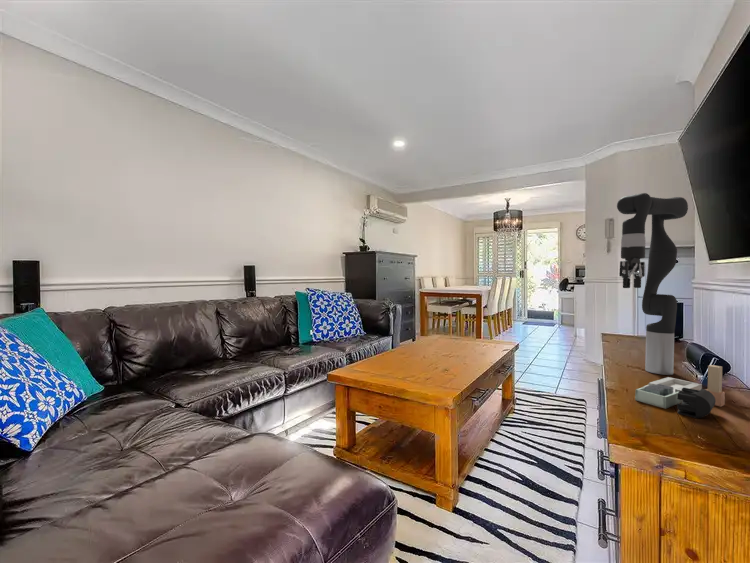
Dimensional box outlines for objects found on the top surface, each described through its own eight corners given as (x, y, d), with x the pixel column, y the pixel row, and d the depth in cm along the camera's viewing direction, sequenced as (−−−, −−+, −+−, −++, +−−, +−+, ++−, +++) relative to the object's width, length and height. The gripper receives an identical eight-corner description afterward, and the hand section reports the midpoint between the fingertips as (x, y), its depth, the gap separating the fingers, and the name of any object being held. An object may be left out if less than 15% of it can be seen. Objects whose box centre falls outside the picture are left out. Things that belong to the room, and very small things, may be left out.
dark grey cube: (650, 385, 112) (644, 386, 110) (665, 388, 109) (659, 390, 107) (650, 397, 112) (644, 399, 110) (665, 401, 109) (659, 403, 107)
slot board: (663, 386, 125) (663, 376, 125) (707, 397, 114) (707, 385, 114) (643, 393, 117) (643, 381, 117) (688, 404, 107) (688, 392, 107)
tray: (650, 395, 116) (650, 384, 116) (680, 402, 109) (680, 391, 109) (635, 400, 111) (635, 389, 110) (665, 408, 104) (665, 397, 104)
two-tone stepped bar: (707, 400, 111) (708, 364, 111) (724, 404, 108) (725, 367, 107) (703, 402, 109) (704, 365, 109) (721, 406, 106) (722, 368, 106)
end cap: (710, 422, 94) (711, 398, 94) (676, 414, 100) (677, 391, 100) (715, 413, 100) (716, 391, 100) (683, 406, 106) (684, 384, 106)
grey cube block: (658, 395, 114) (658, 383, 114) (673, 399, 110) (673, 387, 110) (652, 397, 112) (652, 385, 112) (667, 401, 108) (667, 389, 108)
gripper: (631, 247, 138) (630, 287, 139) (612, 245, 131) (611, 287, 132) (653, 246, 132) (652, 288, 132) (635, 244, 125) (634, 288, 125)
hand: (631, 288), depth 132 cm, fingers open, 8 cm apart
